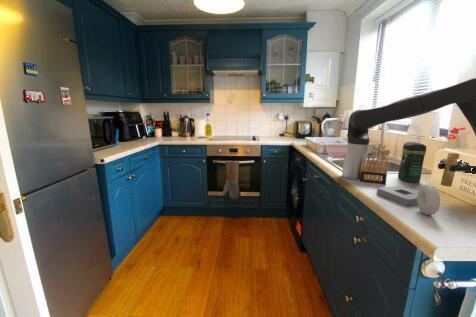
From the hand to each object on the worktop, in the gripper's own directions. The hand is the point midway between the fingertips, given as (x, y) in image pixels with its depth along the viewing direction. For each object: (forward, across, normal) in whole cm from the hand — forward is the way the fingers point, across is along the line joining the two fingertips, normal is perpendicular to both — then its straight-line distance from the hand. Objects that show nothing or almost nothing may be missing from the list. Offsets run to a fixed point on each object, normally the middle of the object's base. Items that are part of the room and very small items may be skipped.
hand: (445, 167), depth 81 cm
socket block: (+9, -7, +14) cm, 17 cm away
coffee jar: (-17, -23, +14) cm, 32 cm away
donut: (+15, +5, +14) cm, 21 cm away
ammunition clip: (+4, -25, +14) cm, 29 cm away
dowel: (-3, 0, +7) cm, 8 cm away
